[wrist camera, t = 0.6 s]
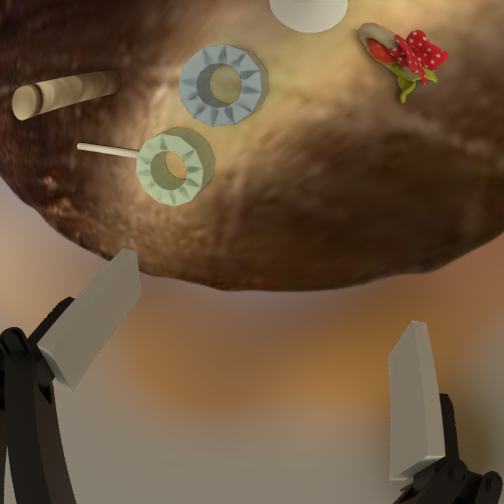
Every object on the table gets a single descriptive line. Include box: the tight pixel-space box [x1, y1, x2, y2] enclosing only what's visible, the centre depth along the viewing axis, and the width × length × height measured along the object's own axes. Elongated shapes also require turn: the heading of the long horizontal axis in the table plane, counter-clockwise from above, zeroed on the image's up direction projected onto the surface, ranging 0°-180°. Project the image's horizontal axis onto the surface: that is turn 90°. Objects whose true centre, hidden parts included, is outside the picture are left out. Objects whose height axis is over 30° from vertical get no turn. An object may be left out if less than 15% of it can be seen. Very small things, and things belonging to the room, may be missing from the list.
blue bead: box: [178, 44, 269, 126], centre depth 31 cm, size 9×9×4 cm
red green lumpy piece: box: [358, 23, 449, 103], centre depth 23 cm, size 6×11×9 cm
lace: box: [77, 143, 140, 158], centre depth 40 cm, size 1×13×1 cm, turn 80°
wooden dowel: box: [12, 70, 121, 120], centre depth 29 cm, size 4×4×16 cm
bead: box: [136, 127, 215, 206], centre depth 38 cm, size 9×9×4 cm
